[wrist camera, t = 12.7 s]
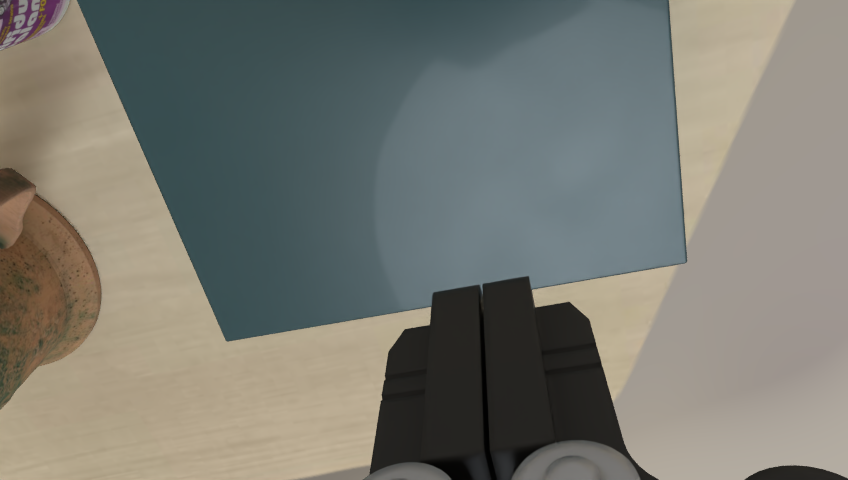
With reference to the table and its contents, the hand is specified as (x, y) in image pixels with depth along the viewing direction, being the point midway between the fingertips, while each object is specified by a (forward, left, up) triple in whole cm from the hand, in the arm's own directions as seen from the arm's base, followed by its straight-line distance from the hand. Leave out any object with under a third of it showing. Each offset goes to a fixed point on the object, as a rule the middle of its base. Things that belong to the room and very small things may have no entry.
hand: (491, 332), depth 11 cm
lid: (+2, +1, -11) cm, 11 cm away
